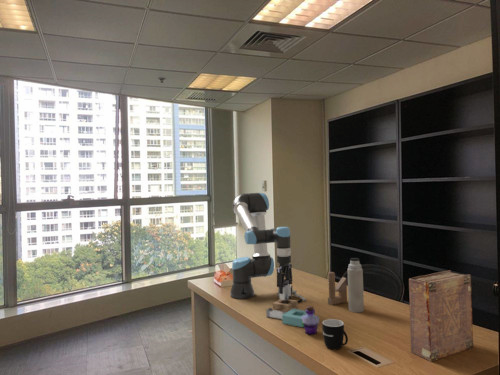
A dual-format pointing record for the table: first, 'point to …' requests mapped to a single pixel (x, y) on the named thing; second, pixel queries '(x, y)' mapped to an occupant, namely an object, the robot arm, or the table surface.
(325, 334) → the mug
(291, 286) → the bike brake
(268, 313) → the pale gray faceted bar
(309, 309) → the potion bottle
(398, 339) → the table surface
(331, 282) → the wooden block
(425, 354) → the book
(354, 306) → the thermos bottle
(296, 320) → the socket block
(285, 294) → the metal flashlight
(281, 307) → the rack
